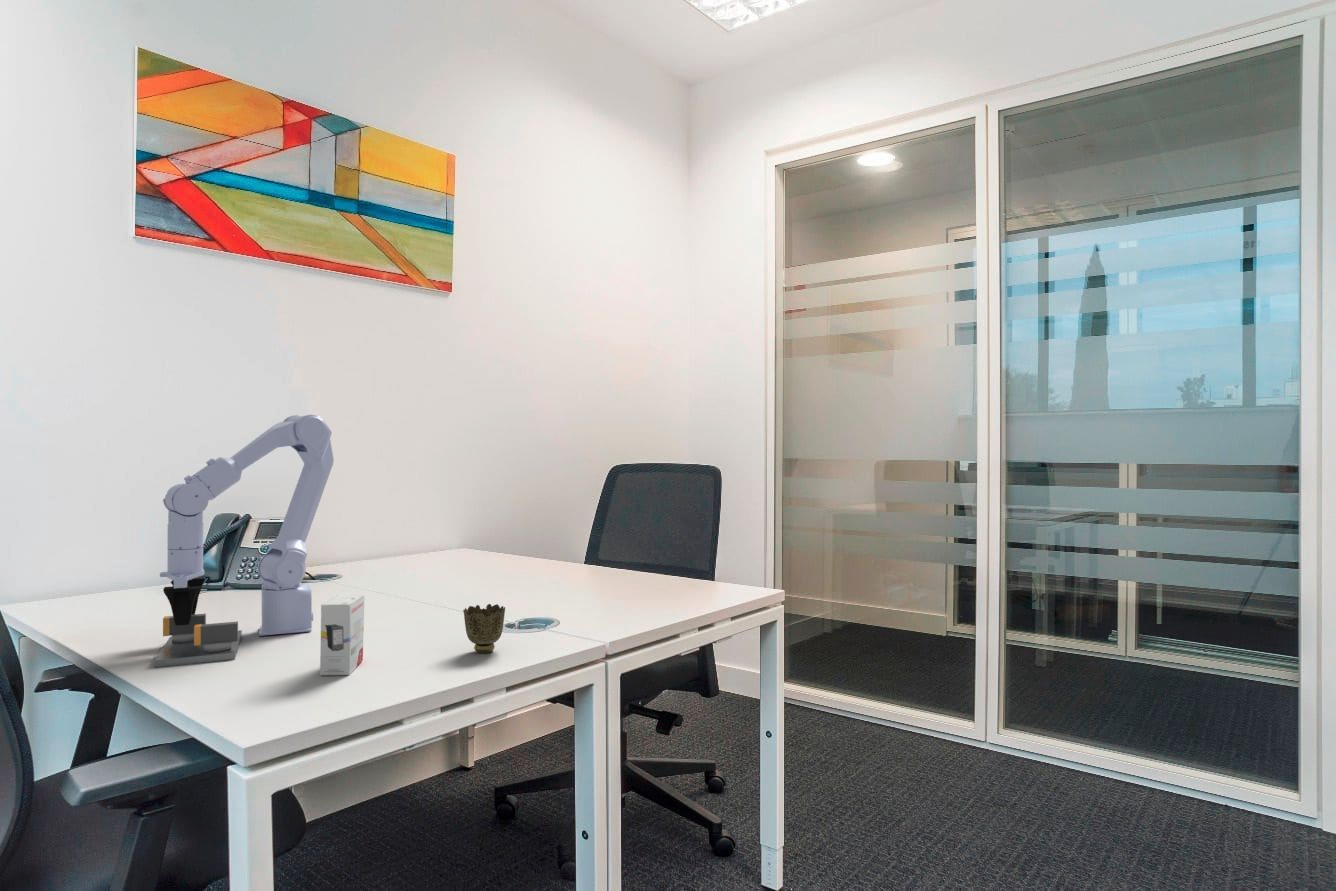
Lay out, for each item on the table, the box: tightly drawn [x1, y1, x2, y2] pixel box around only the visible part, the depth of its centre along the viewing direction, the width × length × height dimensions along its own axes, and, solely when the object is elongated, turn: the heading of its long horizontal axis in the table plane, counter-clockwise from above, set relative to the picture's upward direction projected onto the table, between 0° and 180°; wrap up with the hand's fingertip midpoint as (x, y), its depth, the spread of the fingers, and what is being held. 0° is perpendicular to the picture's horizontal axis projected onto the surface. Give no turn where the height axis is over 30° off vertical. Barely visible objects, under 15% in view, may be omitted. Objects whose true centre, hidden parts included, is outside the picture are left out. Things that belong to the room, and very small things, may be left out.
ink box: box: [319, 594, 366, 676], centre depth 133 cm, size 9×5×12 cm, turn 6°
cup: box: [462, 603, 506, 654], centre depth 144 cm, size 8×7×8 cm
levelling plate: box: [153, 629, 243, 668], centre depth 145 cm, size 12×18×3 cm, turn 25°
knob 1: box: [162, 613, 207, 642], centre depth 148 cm, size 7×4×4 cm, turn 115°
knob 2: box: [194, 621, 239, 652], centre depth 141 cm, size 7×4×4 cm, turn 115°
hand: (185, 620), depth 148 cm, fingers open, 7 cm apart
